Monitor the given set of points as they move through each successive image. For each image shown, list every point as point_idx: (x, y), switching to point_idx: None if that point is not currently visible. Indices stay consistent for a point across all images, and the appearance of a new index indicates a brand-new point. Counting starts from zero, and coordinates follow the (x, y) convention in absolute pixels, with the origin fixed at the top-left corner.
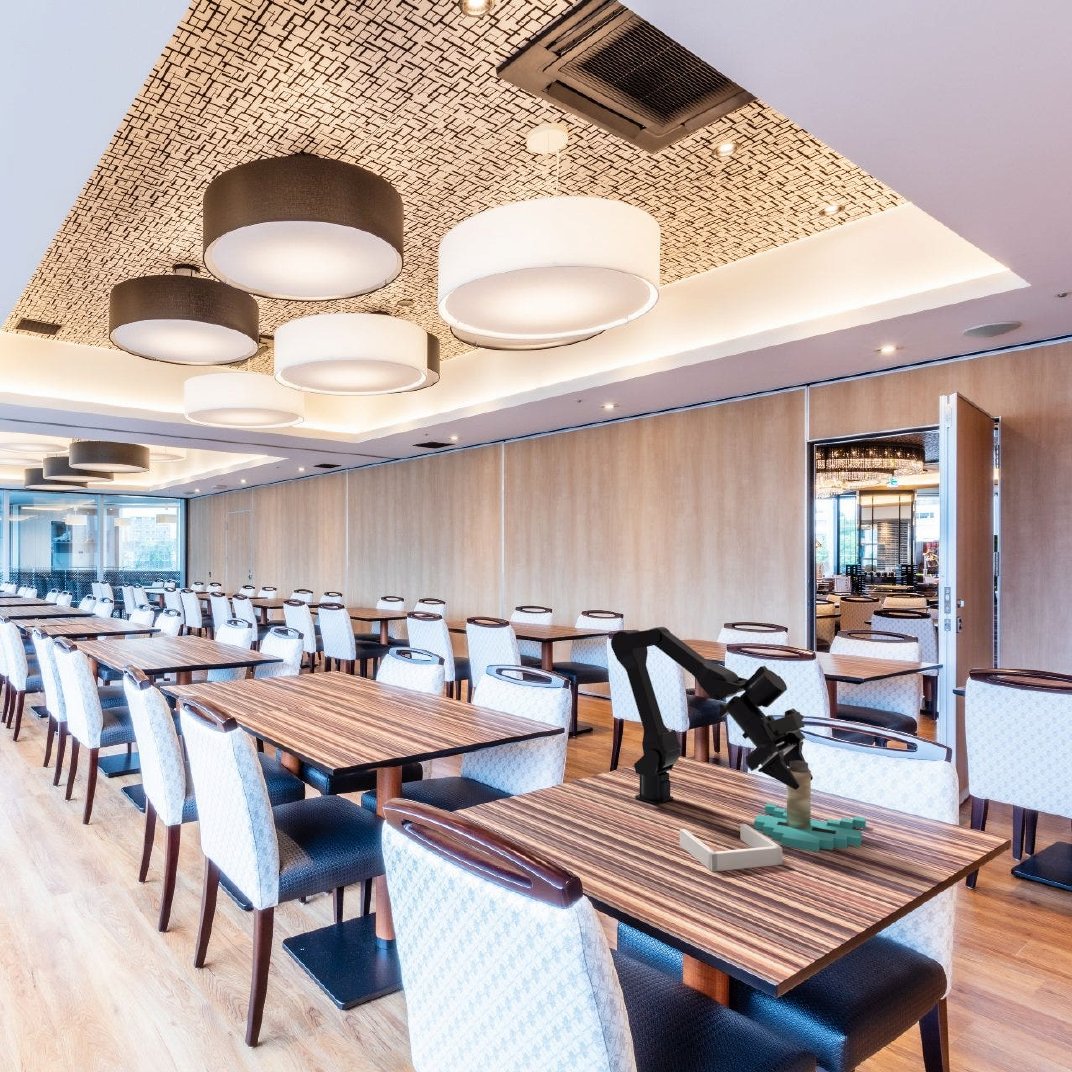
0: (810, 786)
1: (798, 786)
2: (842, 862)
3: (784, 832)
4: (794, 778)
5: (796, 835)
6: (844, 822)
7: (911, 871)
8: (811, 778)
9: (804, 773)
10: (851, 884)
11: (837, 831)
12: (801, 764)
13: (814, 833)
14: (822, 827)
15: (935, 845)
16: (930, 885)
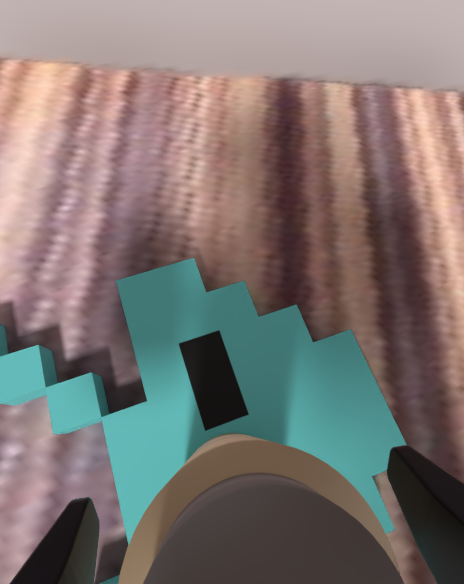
0: (222, 441)
1: (410, 449)
2: (355, 253)
3: (361, 480)
4: (459, 499)
5: (350, 424)
6: (44, 372)
7: (266, 128)
8: (91, 505)
9: (325, 465)
10: (460, 185)
11: (182, 337)
12: (340, 549)
13: (270, 387)
14: (181, 399)
15: (27, 141)
16: (311, 85)
